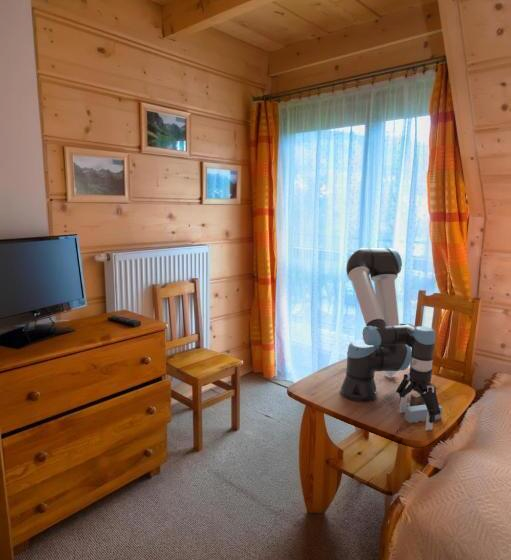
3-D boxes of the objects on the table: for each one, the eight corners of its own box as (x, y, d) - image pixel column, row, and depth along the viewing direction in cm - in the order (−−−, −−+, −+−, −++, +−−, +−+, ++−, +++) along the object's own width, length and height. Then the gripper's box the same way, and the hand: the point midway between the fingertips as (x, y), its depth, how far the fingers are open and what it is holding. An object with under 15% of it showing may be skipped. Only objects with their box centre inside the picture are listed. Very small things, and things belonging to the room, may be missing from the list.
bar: (440, 419, 166) (442, 407, 165) (410, 423, 162) (411, 411, 161) (434, 414, 169) (436, 403, 168) (404, 419, 165) (405, 407, 164)
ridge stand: (416, 414, 169) (417, 400, 168) (403, 406, 175) (405, 392, 174) (435, 409, 173) (437, 396, 172) (422, 402, 179) (423, 388, 178)
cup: (387, 379, 200) (388, 363, 199) (376, 371, 210) (377, 355, 208) (400, 378, 202) (402, 362, 200) (388, 370, 211) (390, 354, 210)
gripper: (390, 357, 170) (385, 407, 174) (439, 383, 147) (432, 439, 151) (405, 355, 173) (400, 404, 177) (455, 380, 150) (448, 435, 154)
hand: (415, 420), depth 164 cm, fingers open, 13 cm apart
